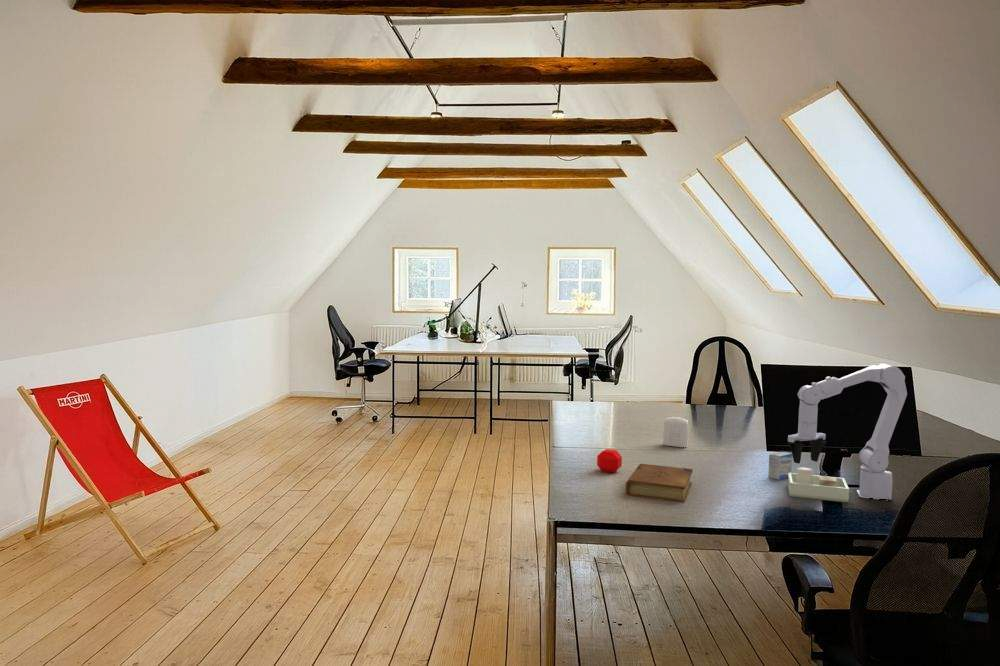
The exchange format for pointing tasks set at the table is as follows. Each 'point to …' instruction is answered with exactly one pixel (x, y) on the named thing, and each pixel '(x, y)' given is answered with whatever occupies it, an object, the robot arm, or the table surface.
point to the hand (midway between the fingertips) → (805, 461)
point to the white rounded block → (676, 432)
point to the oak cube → (827, 481)
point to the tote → (818, 489)
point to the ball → (609, 460)
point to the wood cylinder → (805, 475)
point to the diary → (659, 482)
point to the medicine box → (780, 465)
